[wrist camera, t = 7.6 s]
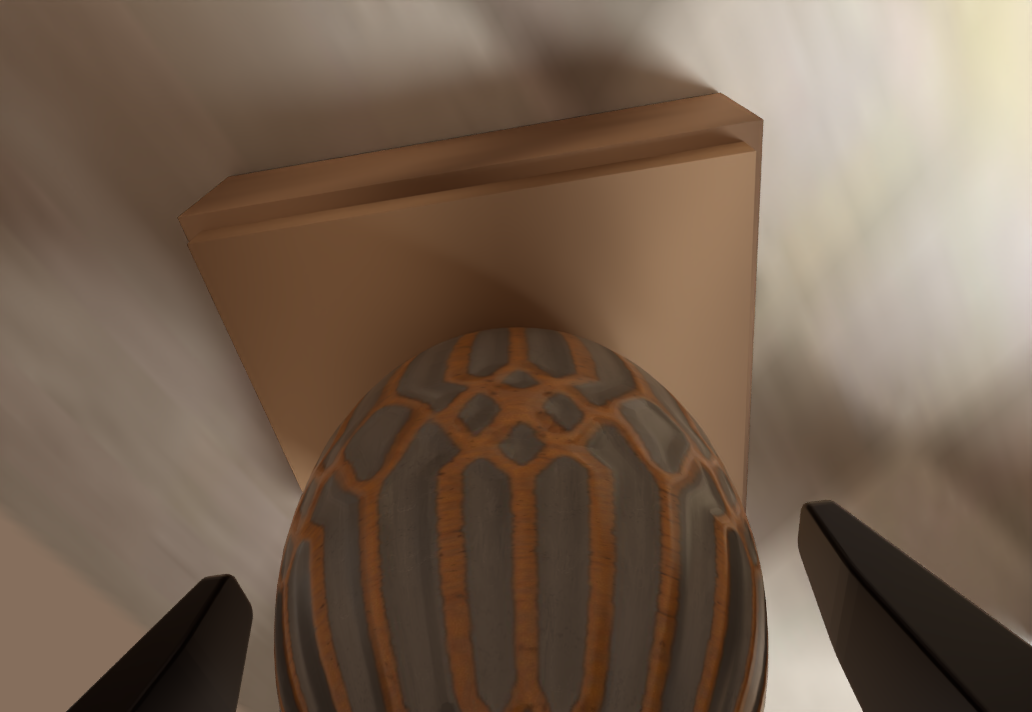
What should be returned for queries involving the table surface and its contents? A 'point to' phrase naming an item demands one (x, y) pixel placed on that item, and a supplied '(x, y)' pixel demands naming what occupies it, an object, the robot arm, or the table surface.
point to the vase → (520, 545)
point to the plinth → (497, 260)
